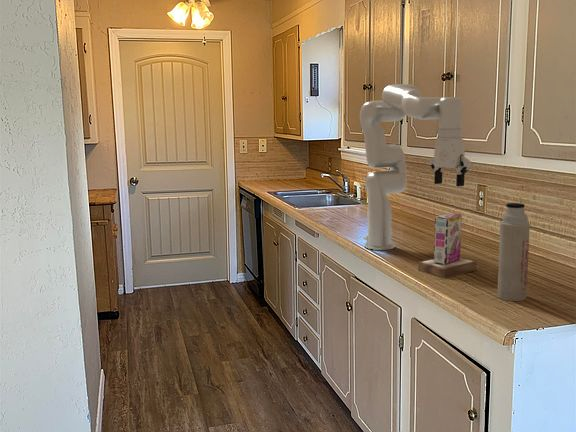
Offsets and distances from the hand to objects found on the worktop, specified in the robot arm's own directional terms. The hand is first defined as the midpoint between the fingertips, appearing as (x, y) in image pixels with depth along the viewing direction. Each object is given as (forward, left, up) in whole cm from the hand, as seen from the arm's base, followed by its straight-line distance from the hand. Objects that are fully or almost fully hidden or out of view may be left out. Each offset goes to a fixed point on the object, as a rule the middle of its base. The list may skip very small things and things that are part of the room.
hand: (448, 184), depth 195 cm
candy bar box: (0, 0, -27) cm, 27 cm away
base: (0, 0, -30) cm, 30 cm away
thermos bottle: (+32, -8, -30) cm, 45 cm away
